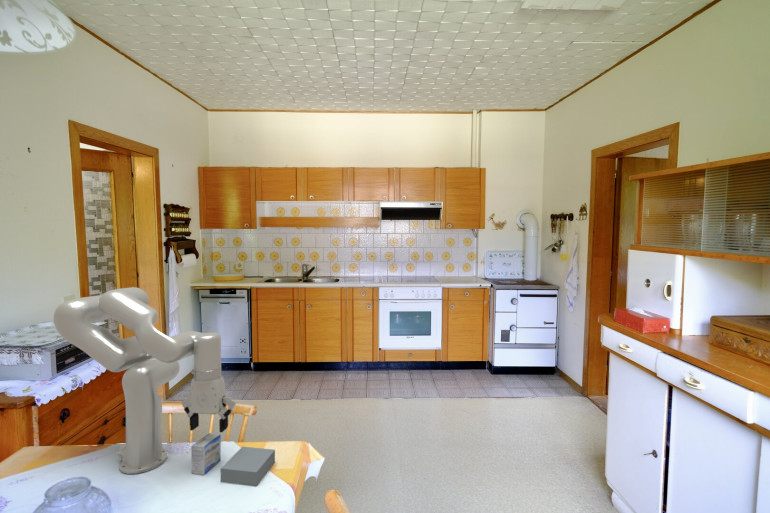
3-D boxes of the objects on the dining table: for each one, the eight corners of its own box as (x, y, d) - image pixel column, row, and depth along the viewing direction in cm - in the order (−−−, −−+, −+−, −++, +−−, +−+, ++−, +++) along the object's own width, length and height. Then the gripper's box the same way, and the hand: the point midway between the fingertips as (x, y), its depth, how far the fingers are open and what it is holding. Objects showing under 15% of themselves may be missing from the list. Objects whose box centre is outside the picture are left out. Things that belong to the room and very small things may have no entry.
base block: (220, 482, 106) (220, 468, 106) (242, 458, 118) (242, 446, 117) (256, 486, 104) (256, 472, 104) (274, 462, 116) (275, 449, 116)
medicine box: (203, 475, 108) (204, 446, 108) (190, 473, 109) (191, 445, 109) (221, 461, 116) (221, 433, 116) (208, 459, 117) (208, 432, 117)
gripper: (173, 377, 110) (174, 433, 110) (227, 379, 107) (228, 437, 108) (190, 369, 117) (191, 422, 117) (240, 370, 115) (241, 425, 115)
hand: (208, 429), depth 113 cm, fingers open, 9 cm apart
